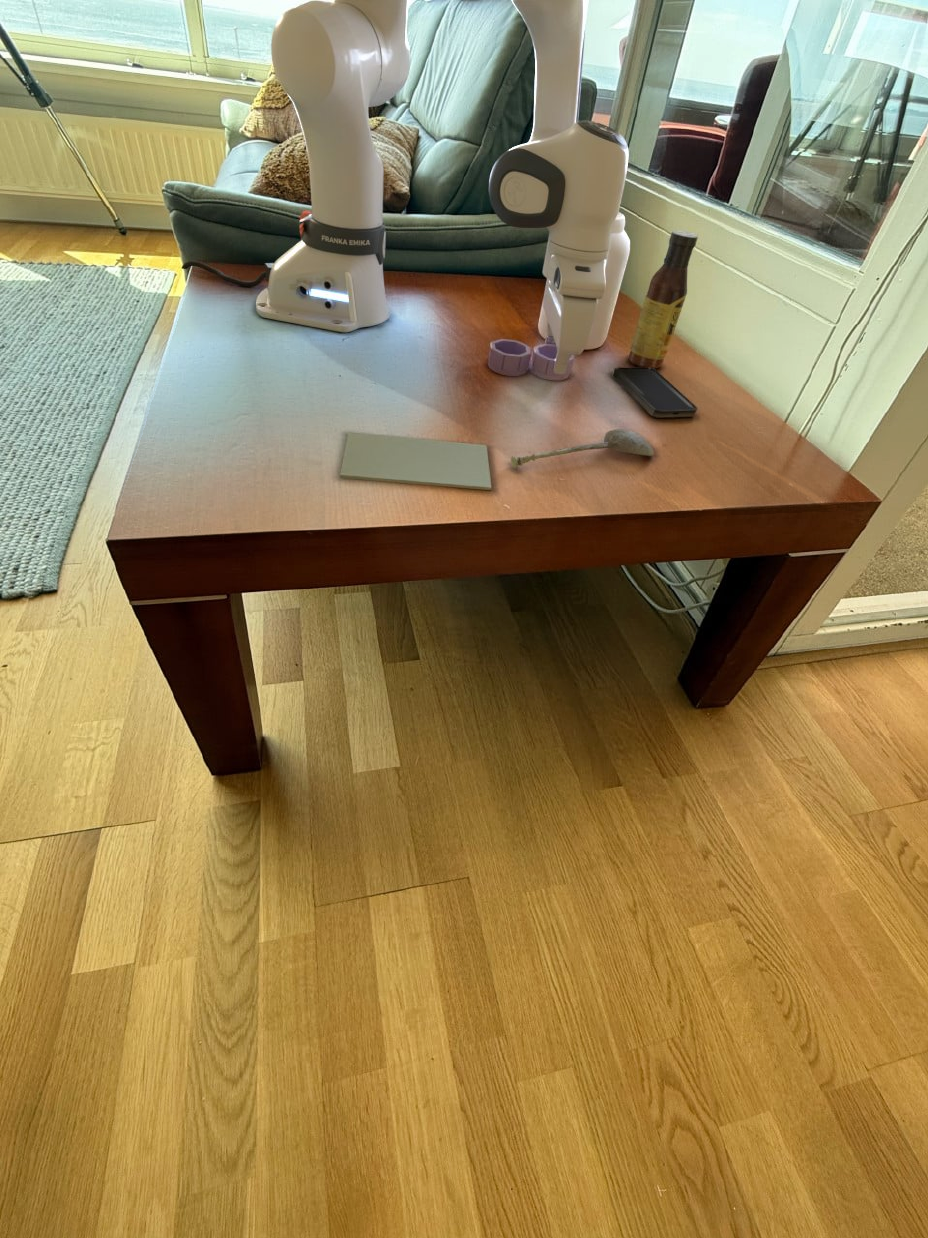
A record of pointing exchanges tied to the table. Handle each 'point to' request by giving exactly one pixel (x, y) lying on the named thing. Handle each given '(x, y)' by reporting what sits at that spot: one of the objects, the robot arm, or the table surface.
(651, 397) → the phone
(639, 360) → the sauce bottle
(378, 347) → the table surface
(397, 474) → the mat
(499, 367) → the dish left
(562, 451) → the soupspoon
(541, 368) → the dish right
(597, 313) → the white pill bottle
